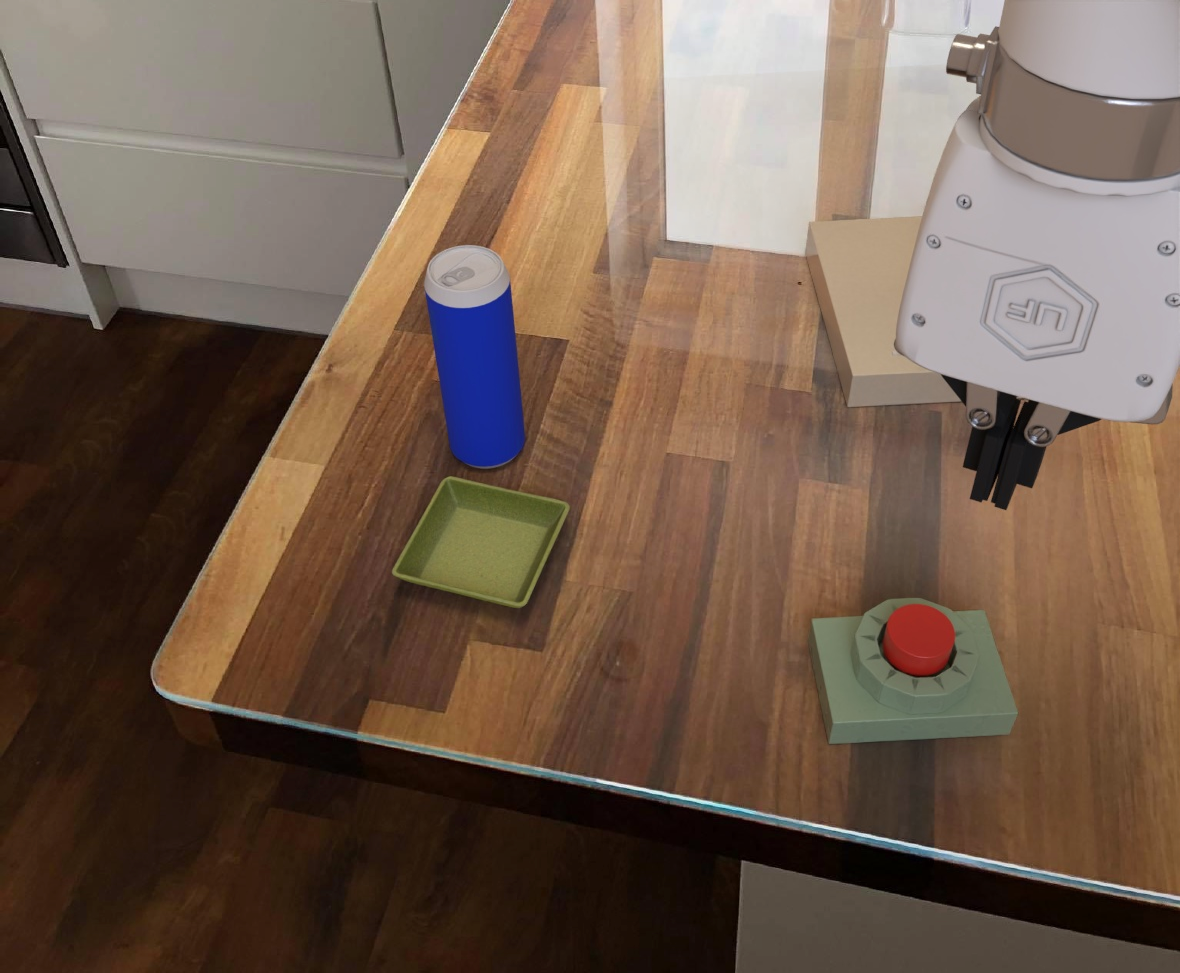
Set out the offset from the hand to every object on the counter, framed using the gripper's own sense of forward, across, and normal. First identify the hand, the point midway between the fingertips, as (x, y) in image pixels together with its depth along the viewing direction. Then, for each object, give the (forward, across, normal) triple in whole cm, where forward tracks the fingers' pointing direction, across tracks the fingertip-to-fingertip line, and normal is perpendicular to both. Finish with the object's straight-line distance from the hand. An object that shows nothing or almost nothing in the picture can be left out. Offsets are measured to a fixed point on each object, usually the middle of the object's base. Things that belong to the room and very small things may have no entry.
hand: (996, 483), depth 54 cm
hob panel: (+19, -11, +34) cm, 40 cm away
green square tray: (+19, -28, 0) cm, 34 cm away
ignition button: (+16, -2, +2) cm, 16 cm away
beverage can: (+19, -33, +8) cm, 39 cm away
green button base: (+19, -2, +2) cm, 20 cm away
